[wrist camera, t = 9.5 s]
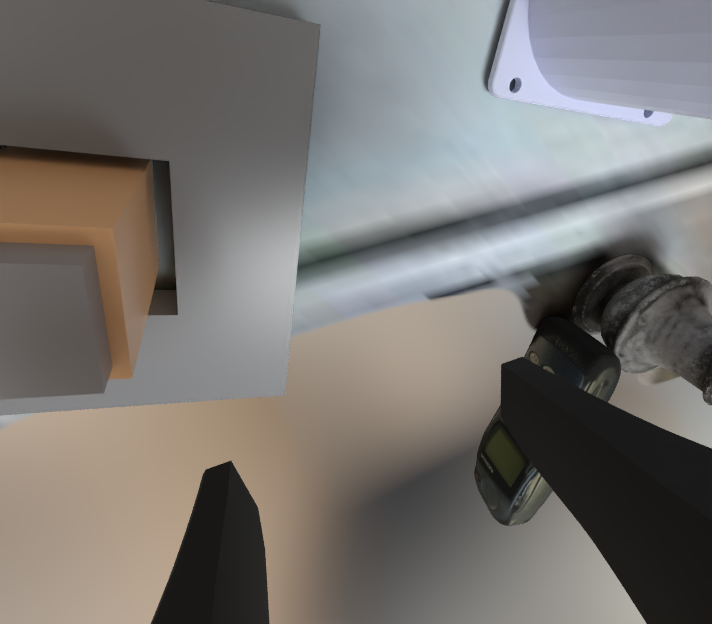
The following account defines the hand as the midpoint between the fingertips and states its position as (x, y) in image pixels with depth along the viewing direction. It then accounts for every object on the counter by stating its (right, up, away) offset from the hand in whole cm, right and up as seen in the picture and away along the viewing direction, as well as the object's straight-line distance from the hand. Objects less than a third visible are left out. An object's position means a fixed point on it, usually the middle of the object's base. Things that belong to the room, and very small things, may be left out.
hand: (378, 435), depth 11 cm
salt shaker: (+14, +4, +14) cm, 20 cm away
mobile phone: (+9, -3, +17) cm, 20 cm away
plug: (-10, +7, +4) cm, 13 cm away
